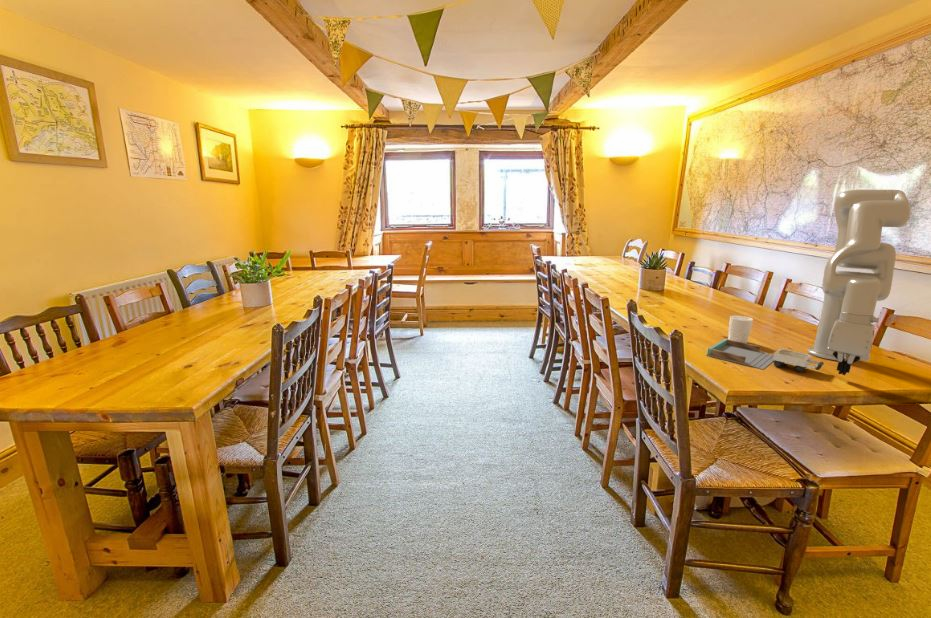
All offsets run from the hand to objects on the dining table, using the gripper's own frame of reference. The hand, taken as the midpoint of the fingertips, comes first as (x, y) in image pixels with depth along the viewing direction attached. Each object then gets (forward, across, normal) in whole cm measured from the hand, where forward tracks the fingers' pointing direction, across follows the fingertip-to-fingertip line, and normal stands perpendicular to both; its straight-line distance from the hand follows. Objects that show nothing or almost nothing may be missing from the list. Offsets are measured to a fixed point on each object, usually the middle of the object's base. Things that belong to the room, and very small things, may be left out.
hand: (842, 373), depth 137 cm
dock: (+2, +28, 0) cm, 28 cm away
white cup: (+2, +35, -18) cm, 40 cm away
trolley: (+2, +12, 0) cm, 12 cm away
